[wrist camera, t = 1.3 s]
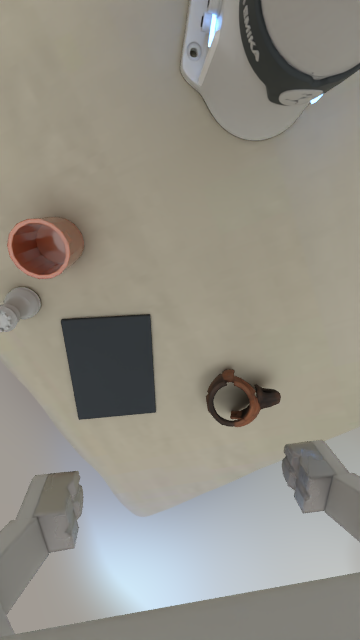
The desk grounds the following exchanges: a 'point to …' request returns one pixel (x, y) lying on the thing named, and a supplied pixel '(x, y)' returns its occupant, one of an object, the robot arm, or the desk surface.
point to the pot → (45, 246)
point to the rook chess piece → (18, 307)
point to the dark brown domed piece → (257, 402)
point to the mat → (110, 365)
